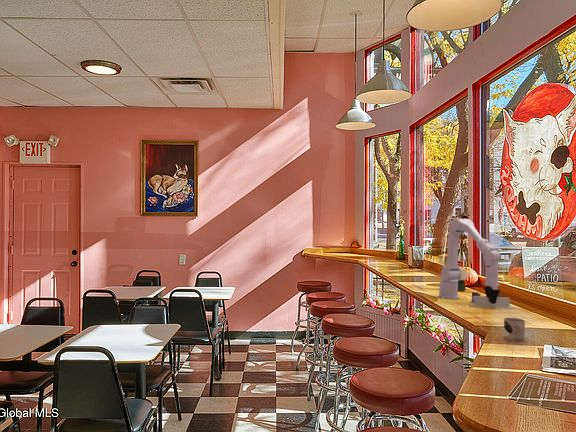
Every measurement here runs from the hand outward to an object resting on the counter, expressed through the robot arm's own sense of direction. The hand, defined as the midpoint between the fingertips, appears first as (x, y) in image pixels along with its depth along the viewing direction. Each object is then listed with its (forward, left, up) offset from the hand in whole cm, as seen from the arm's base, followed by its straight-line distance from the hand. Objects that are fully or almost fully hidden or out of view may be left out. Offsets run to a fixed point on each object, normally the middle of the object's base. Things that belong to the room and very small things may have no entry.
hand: (491, 302), depth 230 cm
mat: (0, 0, -2) cm, 2 cm away
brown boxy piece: (-6, +8, -2) cm, 10 cm away
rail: (0, 0, -1) cm, 1 cm away
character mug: (-6, +52, -2) cm, 52 cm away
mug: (-7, -68, -2) cm, 68 cm away
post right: (+6, +8, -2) cm, 10 cm away
